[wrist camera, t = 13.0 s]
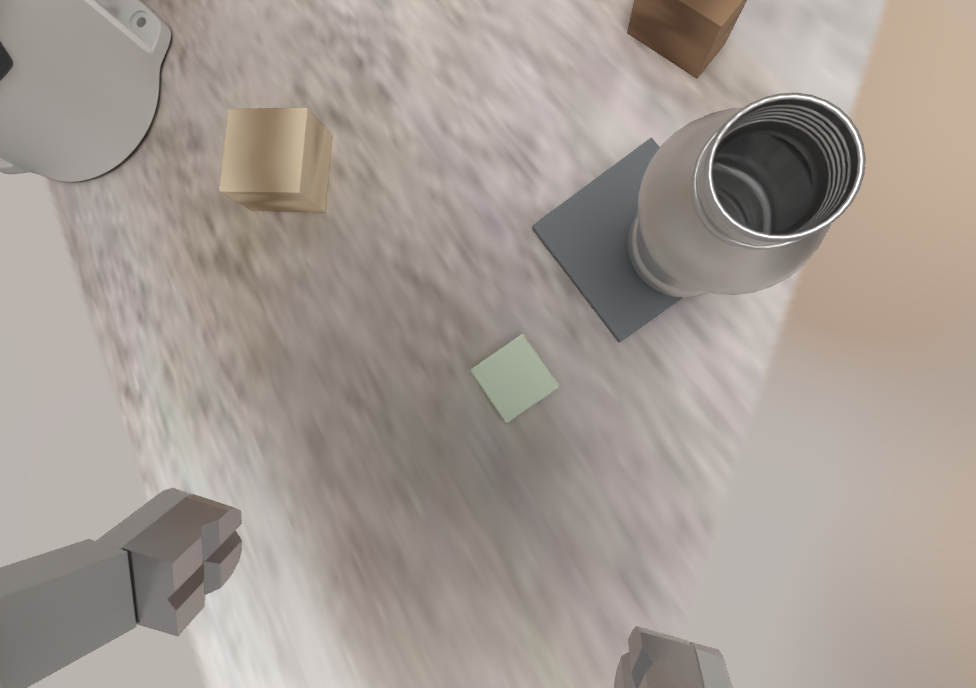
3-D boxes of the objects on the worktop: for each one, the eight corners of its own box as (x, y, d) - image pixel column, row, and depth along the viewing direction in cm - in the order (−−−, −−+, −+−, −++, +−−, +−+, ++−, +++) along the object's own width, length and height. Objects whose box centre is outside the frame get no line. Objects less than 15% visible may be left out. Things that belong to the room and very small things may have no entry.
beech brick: (254, 211, 37) (219, 191, 33) (261, 137, 38) (228, 108, 34) (326, 212, 37) (299, 192, 33) (333, 137, 37) (307, 107, 33)
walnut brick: (627, 33, 34) (639, -25, 29) (653, 0, 34) (670, -64, 29) (696, 79, 33) (721, 26, 29) (724, 45, 33) (753, -14, 28)
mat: (532, 229, 34) (532, 225, 33) (649, 143, 33) (651, 137, 33) (619, 342, 33) (620, 341, 32) (742, 254, 32) (746, 251, 31)
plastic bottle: (667, 317, 32) (751, 351, 13) (605, 237, 32) (596, 152, 13) (755, 255, 30) (1008, 187, 11) (689, 172, 31) (819, -35, 11)
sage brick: (479, 371, 34) (469, 370, 30) (526, 338, 34) (522, 333, 30) (511, 418, 33) (506, 423, 29) (559, 385, 33) (560, 386, 29)
